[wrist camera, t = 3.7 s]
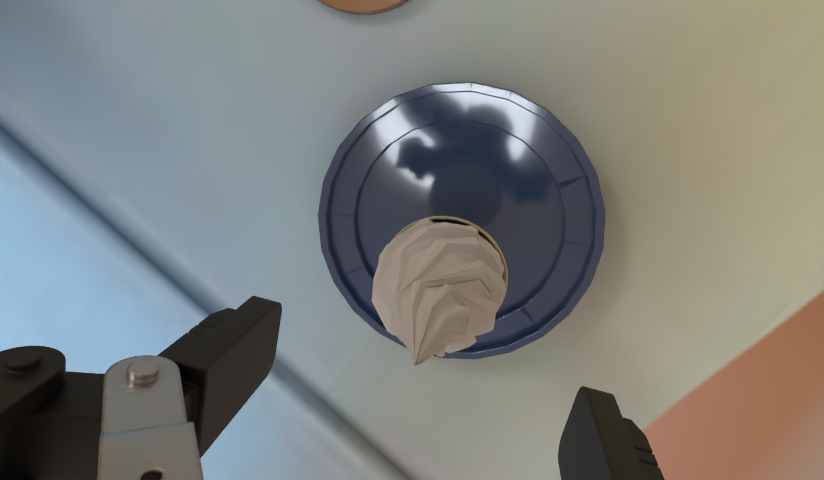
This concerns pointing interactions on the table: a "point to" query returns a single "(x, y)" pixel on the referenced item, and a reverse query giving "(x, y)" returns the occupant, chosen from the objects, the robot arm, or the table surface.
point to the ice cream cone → (439, 285)
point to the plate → (468, 200)
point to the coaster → (363, 5)
